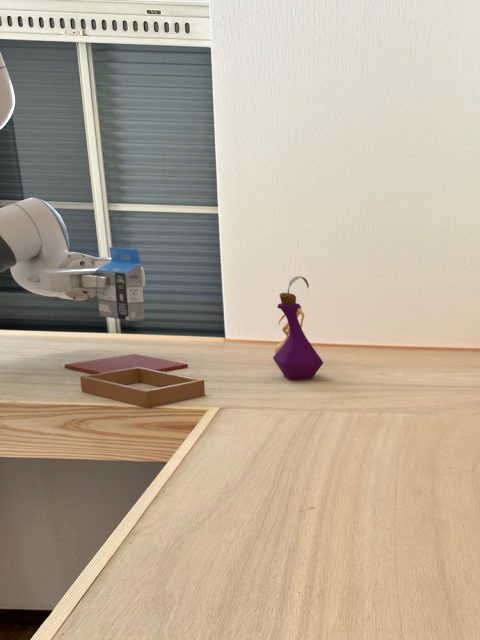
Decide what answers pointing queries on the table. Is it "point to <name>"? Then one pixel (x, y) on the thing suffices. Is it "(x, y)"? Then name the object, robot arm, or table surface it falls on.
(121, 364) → the rubber mat
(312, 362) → the perfume bottle
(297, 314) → the figurine
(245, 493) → the table surface
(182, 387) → the frame
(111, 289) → the label tape box
